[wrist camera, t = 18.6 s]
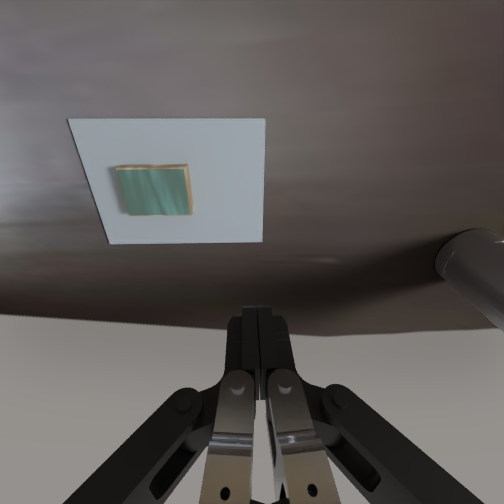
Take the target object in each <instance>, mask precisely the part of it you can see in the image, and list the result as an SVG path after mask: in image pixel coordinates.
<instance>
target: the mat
mask: <svg viewBox="0 0 504 504" xmlns="http://www.w3.org/2000/svg"><path fill="white" fill-rule="evenodd" d="M68 121H69V124H70V127H71V130H72V133H73V136H74V139H75V142H76V145H77V148H78V151H79V154H80V157H81V160H82V163H83V166H84V169H85V172H86V175H87V178H88V181H89V184H90V187H91V190H92V193H93V195H94V198H95V201H96V204H97V207H98V210H99V213H100V216H101V219H102V222H103V225H104V228H105V231H106V234H107V237H108V240H109V243H110V244H156V243H228V242H262V232H263V192H264V153H265V118H73V119H68ZM141 164H188V168H189V175H190V183H191V190H192V198H193V206H194V211H193V214H192V215H181V216H129V215H128V211H127V207H126V204H125V200H124V197H123V193H122V189H121V186H120V182H119V179H118V175H117V171H116V168H117V167H119V166H121V165H141Z"/></svg>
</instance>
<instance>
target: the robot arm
mask: <svg viewBox="0 0 504 504" xmlns="http://www.w3.org/2000/svg"><path fill="white" fill-rule="evenodd" d="M435 269H436V271H437V273H438V274H439V275H440V276H441V277H443V278H444V279H445V280H446V281H447V282H448V283H449V284H450V285H452V286H453V287H454V288H455V289H456V290H457V291H458V292H459V293H460V294H461V295H462V296H464V297H465V298H466V299H467V300H468V301H469V302H470V303H471V304H473V305H474V306H475V307H476V308H477V309H478V310H479V311H480V312H481V313H483V314H484V315H485V316H486V317H487V318H488V319H489V320H490V321H492V322H493V323H494V324H495V325H496V326H497V327H498V328H499V329H500V330H502V331H503V332H504V238H503V237H500V236H499V235H497V234H495V233H493V232H491V231H489V230H485V229H474V230H469V231H466V232H463V233H461V234H459V235H457V236H455V237H454V238H452V239H451V240H449V241H448V242H447V243H446V244H445V245H444V246H443V247H442V249H441V250H440V251H439V253H438V255H437V257H436V260H435ZM259 384H260V399H261V400H265V401H266V423H267V430H268V437H269V445H270V452H271V459H272V466H273V475H274V489H275V497H276V502H274V503H272V504H341V502H340V498H339V495H338V491H337V488H336V485H335V481H334V478H333V474H332V471H331V468H330V464H329V461H328V458H327V456H328V457H329V458H330V459H331V460H332V461H333V463H334V464H335V465H336V466H337V467H338V468H339V469H340V470H341V472H342V473H343V474H344V475H345V476H346V477H347V478H348V479H349V480H350V482H351V483H352V484H353V485H354V486H355V487H356V488H357V489H358V490H359V492H360V493H361V494H362V495H363V496H364V497H365V498H366V499H367V500H368V502H369V503H370V504H484V503H483V502H482V501H481V500H480V499H478V498H477V497H476V496H475V495H474V494H472V493H471V492H470V491H469V490H468V489H467V488H465V487H464V486H463V485H462V484H460V483H459V482H458V481H457V480H456V479H455V478H453V477H452V476H451V475H450V474H449V473H448V472H446V471H445V470H444V469H443V468H442V467H441V466H439V465H438V464H437V463H436V462H435V461H434V460H432V459H431V458H430V457H429V456H428V455H426V454H425V453H424V452H423V451H422V450H421V449H419V448H418V447H417V446H416V445H415V444H413V443H412V442H411V441H410V440H409V439H408V438H406V437H405V436H404V435H403V434H402V433H400V432H399V431H398V430H397V429H396V428H395V427H393V426H392V425H391V424H390V423H389V422H388V421H386V420H385V419H384V418H383V417H382V416H380V415H379V414H378V413H377V412H376V411H375V410H373V409H372V408H371V407H370V406H369V405H367V404H366V403H365V402H364V401H363V400H362V399H360V398H359V397H358V396H357V395H356V394H355V393H353V392H352V391H351V390H350V389H348V388H347V387H345V386H343V385H340V384H332V385H329V386H327V387H326V388H325V389H324V388H321V387H318V386H314V385H311V384H309V383H307V382H306V381H304V380H303V379H302V378H301V377H300V376H299V375H298V373H297V371H296V368H295V363H294V358H293V353H292V348H291V342H290V337H289V333H288V327H287V323H286V321H285V320H284V319H283V317H282V316H272V310H271V306H257V314H256V306H242V316H241V317H232V318H231V320H230V322H229V323H228V328H227V343H226V358H225V371H224V375H223V377H222V378H221V380H220V381H219V382H218V383H217V384H216V385H215V386H213V387H211V388H208V389H206V390H203V391H200V392H198V391H197V390H195V389H193V388H182V389H179V390H177V391H176V392H174V393H173V394H172V395H171V396H170V397H169V398H168V399H167V400H166V401H165V402H164V403H163V404H162V405H161V406H160V407H159V408H158V409H157V410H156V411H155V412H154V413H153V414H152V415H151V416H150V417H149V418H148V419H147V420H146V421H145V422H144V423H143V424H142V425H141V426H140V427H139V428H138V429H137V430H136V431H135V432H134V433H133V434H132V435H131V436H130V437H129V438H128V439H127V440H126V441H125V442H124V443H123V444H122V445H121V446H120V447H119V448H118V449H117V450H116V451H115V452H114V453H113V454H112V455H111V456H110V457H109V458H108V459H107V460H106V461H105V462H104V463H103V464H102V465H101V466H100V467H99V468H98V469H97V470H96V471H95V472H94V473H93V474H92V475H91V476H90V477H89V478H88V479H87V480H86V481H85V482H84V483H83V484H82V485H81V486H80V487H79V488H78V489H77V490H76V491H75V492H74V493H73V494H72V495H71V496H70V497H69V498H68V499H67V500H66V501H65V502H64V503H63V504H164V502H165V501H166V500H167V498H168V497H169V496H170V494H171V493H172V492H173V490H174V489H175V488H176V486H177V485H178V484H179V482H180V481H181V480H182V478H183V477H184V476H185V474H186V473H187V472H188V470H189V469H190V468H191V466H192V465H193V464H194V462H195V461H196V460H197V458H198V457H199V456H200V454H201V453H202V452H203V450H204V449H205V447H207V446H209V447H208V451H207V457H206V463H205V469H204V476H203V481H202V487H201V494H200V500H199V504H264V503H261V502H257V501H254V500H252V499H251V497H252V463H253V435H254V420H255V414H256V400H259Z"/></svg>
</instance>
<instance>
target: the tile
mask: <svg viewBox="0 0 504 504" xmlns="http://www.w3.org/2000/svg"><path fill="white" fill-rule="evenodd" d="M116 171H117V175H118V179H119V182H120V186H121V189H122V193H123V197H124V200H125V204H126V207H127V211H128V215H129V216H181V215H192V214H193V211H194V206H193V198H192V190H191V183H190V175H189V168H188V164H141V165H121V166H119V167H117V168H116Z"/></svg>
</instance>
